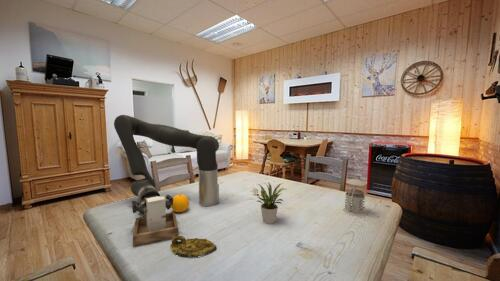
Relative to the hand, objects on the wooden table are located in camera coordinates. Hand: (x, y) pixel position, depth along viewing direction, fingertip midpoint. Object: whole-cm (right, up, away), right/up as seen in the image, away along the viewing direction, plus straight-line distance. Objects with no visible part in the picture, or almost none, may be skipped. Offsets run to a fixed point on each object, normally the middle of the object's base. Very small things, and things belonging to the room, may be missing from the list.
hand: (156, 209), depth 76 cm
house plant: (+43, -9, +12) cm, 45 cm away
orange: (+2, -7, +20) cm, 22 cm away
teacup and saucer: (+38, -6, +39) cm, 55 cm away
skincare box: (-1, -8, +2) cm, 9 cm away
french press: (+81, -8, +20) cm, 84 cm away
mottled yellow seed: (+15, -11, -8) cm, 20 cm away
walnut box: (-1, -9, +2) cm, 9 cm away
